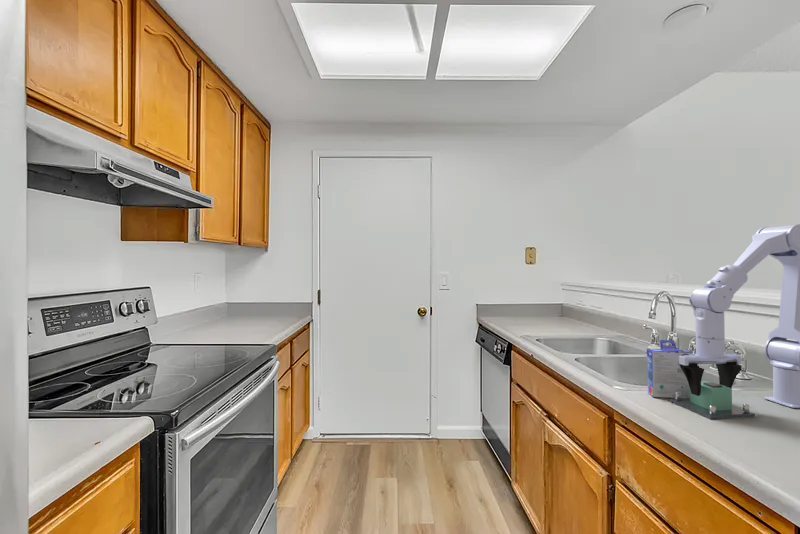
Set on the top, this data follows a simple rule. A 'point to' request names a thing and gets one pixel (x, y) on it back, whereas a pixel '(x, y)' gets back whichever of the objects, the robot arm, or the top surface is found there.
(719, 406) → the block
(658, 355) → the ink cartridge box
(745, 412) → the chassis
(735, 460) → the top surface
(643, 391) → the top surface
